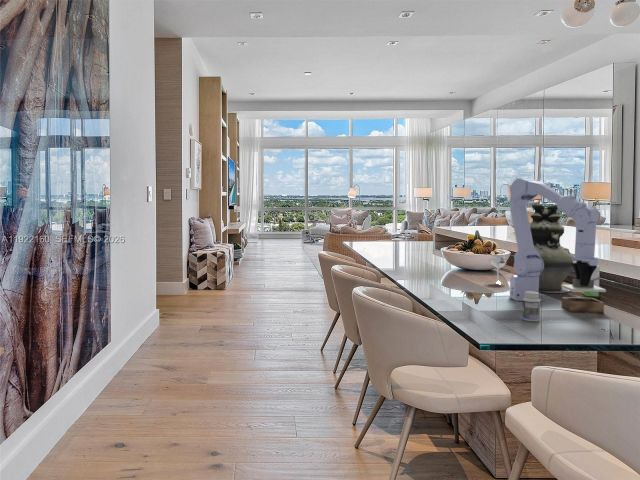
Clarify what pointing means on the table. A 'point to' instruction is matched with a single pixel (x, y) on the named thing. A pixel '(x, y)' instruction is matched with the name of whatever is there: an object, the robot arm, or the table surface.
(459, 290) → the table surface
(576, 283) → the lid
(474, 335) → the table surface
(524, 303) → the pill bottle
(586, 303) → the box
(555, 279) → the decorative urn
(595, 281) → the ink box
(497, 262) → the wineglass
